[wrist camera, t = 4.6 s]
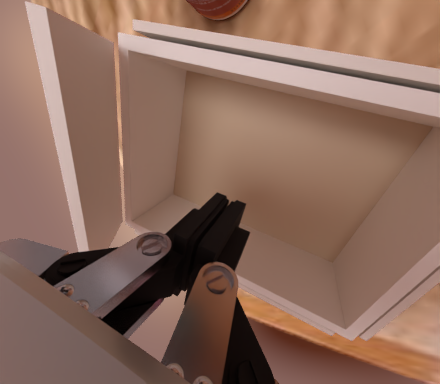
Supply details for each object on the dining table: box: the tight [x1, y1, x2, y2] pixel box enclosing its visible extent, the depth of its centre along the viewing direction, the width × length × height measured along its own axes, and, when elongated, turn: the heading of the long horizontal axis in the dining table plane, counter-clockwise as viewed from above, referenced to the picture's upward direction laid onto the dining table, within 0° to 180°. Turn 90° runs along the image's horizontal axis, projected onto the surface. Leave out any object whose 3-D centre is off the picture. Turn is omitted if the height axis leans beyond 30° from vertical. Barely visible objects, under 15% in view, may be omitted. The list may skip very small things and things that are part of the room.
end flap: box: [25, 1, 122, 252], centre depth 12 cm, size 1×14×6 cm, turn 167°
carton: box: [118, 19, 440, 341], centre depth 16 cm, size 22×17×8 cm
